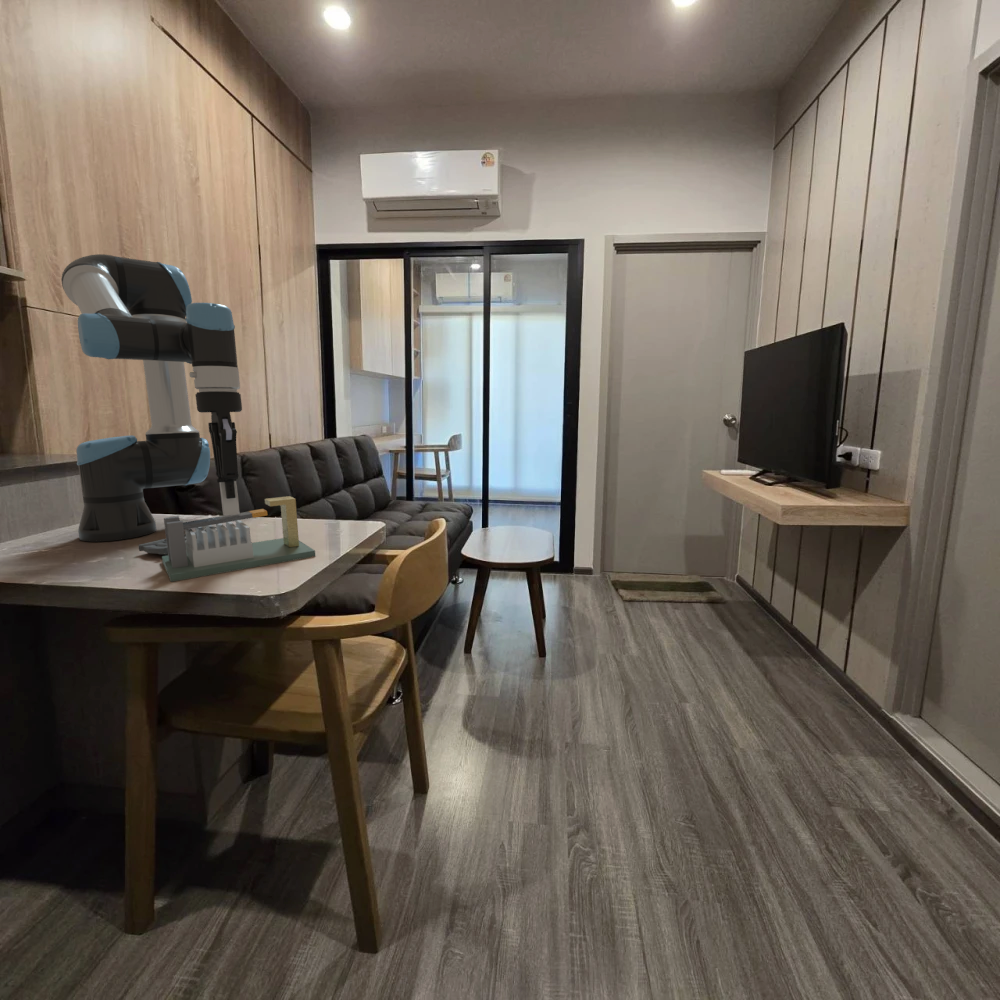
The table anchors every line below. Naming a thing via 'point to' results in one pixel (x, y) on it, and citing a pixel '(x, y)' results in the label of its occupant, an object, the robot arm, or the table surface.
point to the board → (259, 559)
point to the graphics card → (159, 545)
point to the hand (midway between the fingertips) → (231, 514)
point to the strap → (224, 519)
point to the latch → (287, 518)
